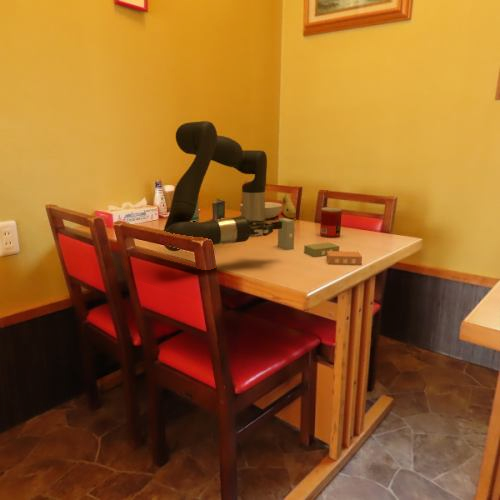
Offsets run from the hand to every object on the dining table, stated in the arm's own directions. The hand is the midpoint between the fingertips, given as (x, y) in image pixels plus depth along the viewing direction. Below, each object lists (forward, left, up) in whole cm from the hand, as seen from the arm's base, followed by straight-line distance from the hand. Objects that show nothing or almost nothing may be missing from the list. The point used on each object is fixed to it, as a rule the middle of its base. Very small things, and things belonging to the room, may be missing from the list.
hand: (280, 224), depth 129 cm
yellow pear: (+2, +49, -11) cm, 50 cm away
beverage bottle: (-45, +63, -11) cm, 78 cm away
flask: (-32, +67, -12) cm, 75 cm away
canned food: (+19, +37, -11) cm, 43 cm away
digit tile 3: (+15, -1, -10) cm, 18 cm away
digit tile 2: (+9, +6, -10) cm, 15 cm away
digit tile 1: (+1, +16, -11) cm, 19 cm away
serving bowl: (-12, +74, -12) cm, 76 cm away
